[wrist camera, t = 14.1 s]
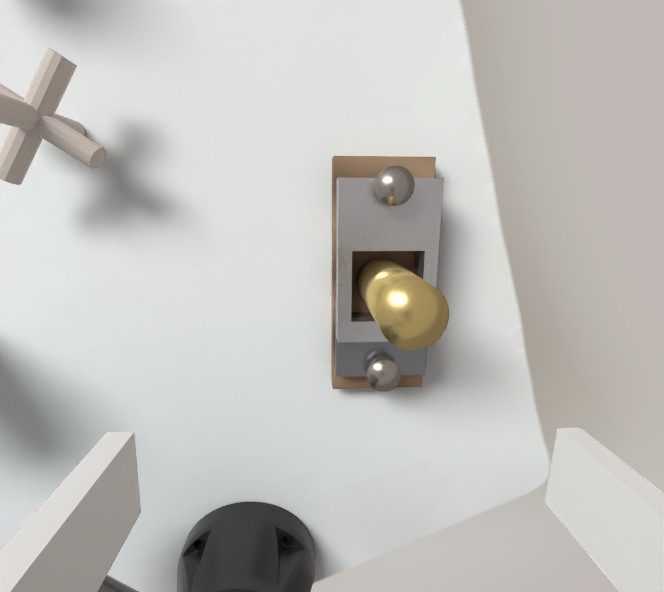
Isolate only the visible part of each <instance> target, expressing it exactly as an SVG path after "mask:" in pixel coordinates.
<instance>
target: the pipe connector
mask: <svg viewBox="0 0 664 592" xmlns="http://www.w3.org/2000/svg"><path fill="white" fill-rule="evenodd" d="M76 67H77V65H75V64H74V63H72V62H71V61H69V60H68V59H66V58H64V57H63V56H61V55H60V54H58V53H57V52H55V51H53V50H52V49H50V48H47V50H46V52H45V55H44V57H43V59H42V61H41V63H40V66H39V68H38V70H37V72H36V74H35V77H34V79H33V81H32V83H31V85H30V88H29V90H28V92H27V94H26V96H25V99H24V98H22V97H21V96H19V95H18V94H16V93H14V92H13V91H11V90H10V89H8V88H6V87H5V86H3V85H2V84H0V123H3V124H7V125H10V126H12V127H11V129H10V131H9V134H8V136H7V138H6V140H5V142H4V145H3V147H2V149H1V151H0V179H2V180H4V181H7V182H9V183H12V184H17V185H19V184H21V183H22V181H23V179H24V177H25V175H26V173H27V170H28V168H29V166H30V164H31V162H32V160H33V158H34V156H35V153H36V151H37V149H38V147H39V145H40V143H41V141H42V139H45V140H46V141H48V142H50V143H51V144H53V145H55V146H56V147H58V148H60V149H61V150H63V151H64V152H66V153H68V154H69V155H71V156H73V157H74V158H76V159H78V160H79V161H81V162H83V163H84V164H86V165H87V166H89V167H91V168H92V169H93V168H97V167H98V166H99V165H101V163H102V162H103V160H104V158H105V155H106V151H105V149H104V148H103V147H101V146H100V145H98V144H96V143H95V142H93V141H92V140H90V139H88V138H87V137H85V129H84V127H83V126H82V125H81V124H80V123H79V122H77V121H74V120H72V119H69V118H66V117H63V116H61V115H58V114H55V111H56V109H57V107H58V105H59V103H60V101H61V98H62V96H63V94H64V92H65V90H66V88H67V86H68V84H69V81H70V79H71V77H72V75H73V73H74V71H75V69H76Z"/></svg>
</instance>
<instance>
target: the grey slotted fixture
mask: <svg viewBox="0 0 664 592" xmlns="http://www.w3.org/2000/svg"><path fill="white" fill-rule="evenodd" d="M443 181H444V178H413V176H412V174H411V172H410V171H409V170H408V169H406V168H405V167H402V166H397V165H395V166H390V167H388V168H386V169H384V170H382V171H381V172H379V173H378V174H377V176H376V177H375V178H337V179H336V253H335V374H336V377H351V376H367V378H368V381H369V383H370V385H371V386H372V387H373V388H374V389H376V390H378V391H389V390H391V389H393V388H394V387H396V386H397V384H398V383H399V381H400V377H401V375H425V368H426V353H427V347H425V348H422V349H418V350H405V349H401V348H398V347H396V346H394V345H393V344H391V343H390V342H389V341H388V340H387V339H386V338H385V336H384V335H383V333H382V332H381V330H380V328H379V326H378V325H377V323H376V321H375V319H374V318H373V316H372V314H371V313H370V312H351V302H352V251H415V261H414V274H415V275H417V276H418V277H420V278H421V279H423V280H425V281H426V282H428V283H429V284H431V285H432V286H434V287H435V288H436V284H437V270H438V255H439V240H440V225H441V210H442V196H443Z"/></svg>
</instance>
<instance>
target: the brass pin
mask: <svg viewBox="0 0 664 592" xmlns="http://www.w3.org/2000/svg"><path fill="white" fill-rule="evenodd" d="M356 286H357V290H358V292H359V294H360V295H361V297H362V299H363V300H364V302H365V304H366V306H367V307H368V309H369V311H370V313H371V314H372V316H373V318H374V319H375V321H376V323H377V325H378V326H379V328H380V330H381V332H382V333H383V335H384V336H385V338H386V339H387V340H388V341H389V342H390V343H391V344H393V345H394V346H396V347H398V348H401V349H405V350H418V349H422V348H425V347H427V346H429V345H431V344H433V343H434V342H435V341H437V340H438V339H439V338H440V336H441V335H442V334H443V332H444V331H445V329H446V326H447V323H448V319H449V308H448V304H447V301H446V299H445V297H444V296H443V294H442V293H441V292H440V291H439V290H438V289H437V288H435V287H434V286H432V285H431V284H429V283H428V282H426V281H425V280H423V279H421V278H420V277H418V276H417V275H415V274H414V273H412V272H410V271H409V270H407V269H406V268H404V267H403V266H401V265H400V264H398V263H396V262H395V261H393V260H391V259H389V258H386V257H375V258H372V259H370V260H368V261H366V262H365V263H364V264H363V265H362V266H361V267H360V269H359V271H358V273H357V276H356Z"/></svg>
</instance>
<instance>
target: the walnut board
mask: <svg viewBox="0 0 664 592" xmlns="http://www.w3.org/2000/svg"><path fill="white" fill-rule="evenodd" d="M435 160H436V157H382V156H333V158H332V386H333V389H346V388H373V387H372V386H371V385H370V383H369V381H368V378H367V376H351V377H336V374H335V253H336V179H337V178H375V177H376V176H377V174H378V173H379V172H381V171H382V170H384V169H386V168H388V167H390V166H395V165H397V166H402V167H405V168H406V169H408V170H409V171H410V172H411V174H412V176H413V178H434V176H435ZM375 257H386V258H389V259H391V260H393V261H395V262H396V263H398V264H400V265H401V266H403V267H404V268H406V269H407V270H409V271H410V272H412V273H414V261H415V251H352V302H351V312H370V311H369V309H368V307H367V306H366V304H365V302H364V300H363V299H362V297H361V295H360V294H359V292H358V290H357V286H356V276H357V273H358V271H359V269H360V267H361V266H362V265H363V264H364V263H365V262H366V261H368V260H370V259H372V258H375ZM421 385H422V375H401V377H400V381H399V383H398V384H397V386H396V387H421Z"/></svg>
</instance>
